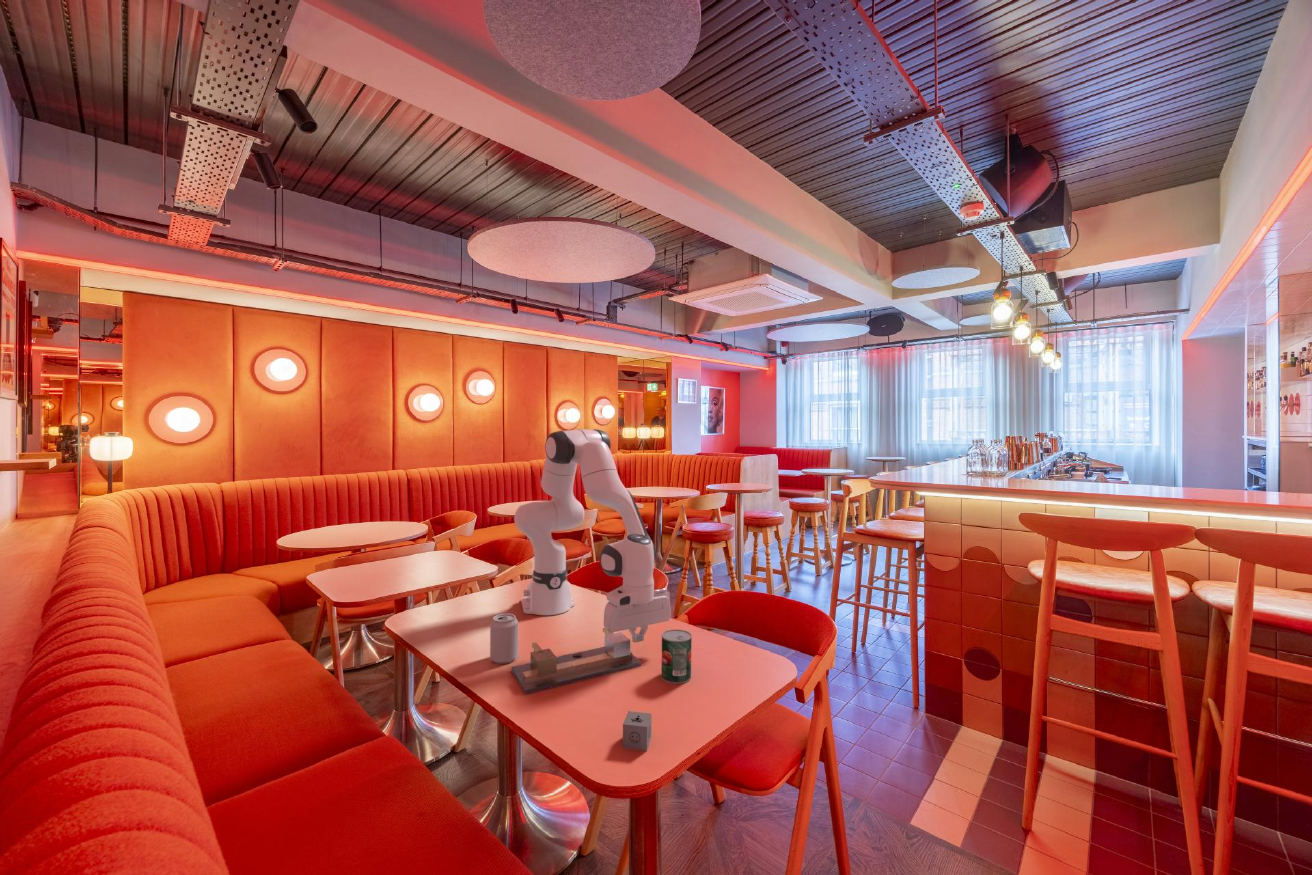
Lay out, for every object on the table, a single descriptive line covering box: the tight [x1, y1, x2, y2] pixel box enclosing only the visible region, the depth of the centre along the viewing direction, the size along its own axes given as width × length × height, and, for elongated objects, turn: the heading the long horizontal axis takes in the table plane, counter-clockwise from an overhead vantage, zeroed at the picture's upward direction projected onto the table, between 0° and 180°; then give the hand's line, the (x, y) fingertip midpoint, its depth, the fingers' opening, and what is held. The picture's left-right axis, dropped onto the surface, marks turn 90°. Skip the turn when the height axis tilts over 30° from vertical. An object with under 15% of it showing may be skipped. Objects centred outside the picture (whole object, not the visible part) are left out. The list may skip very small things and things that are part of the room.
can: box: [489, 613, 519, 665], centre depth 143 cm, size 8×8×12 cm
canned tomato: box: [660, 629, 693, 685], centre depth 134 cm, size 8×8×11 cm
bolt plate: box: [510, 642, 643, 695], centre depth 138 cm, size 14×32×6 cm, turn 120°
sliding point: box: [602, 627, 631, 658], centre depth 145 cm, size 12×5×5 cm, turn 30°
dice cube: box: [622, 710, 652, 752], centre depth 106 cm, size 5×5×5 cm
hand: (637, 641), depth 145 cm, fingers closed
